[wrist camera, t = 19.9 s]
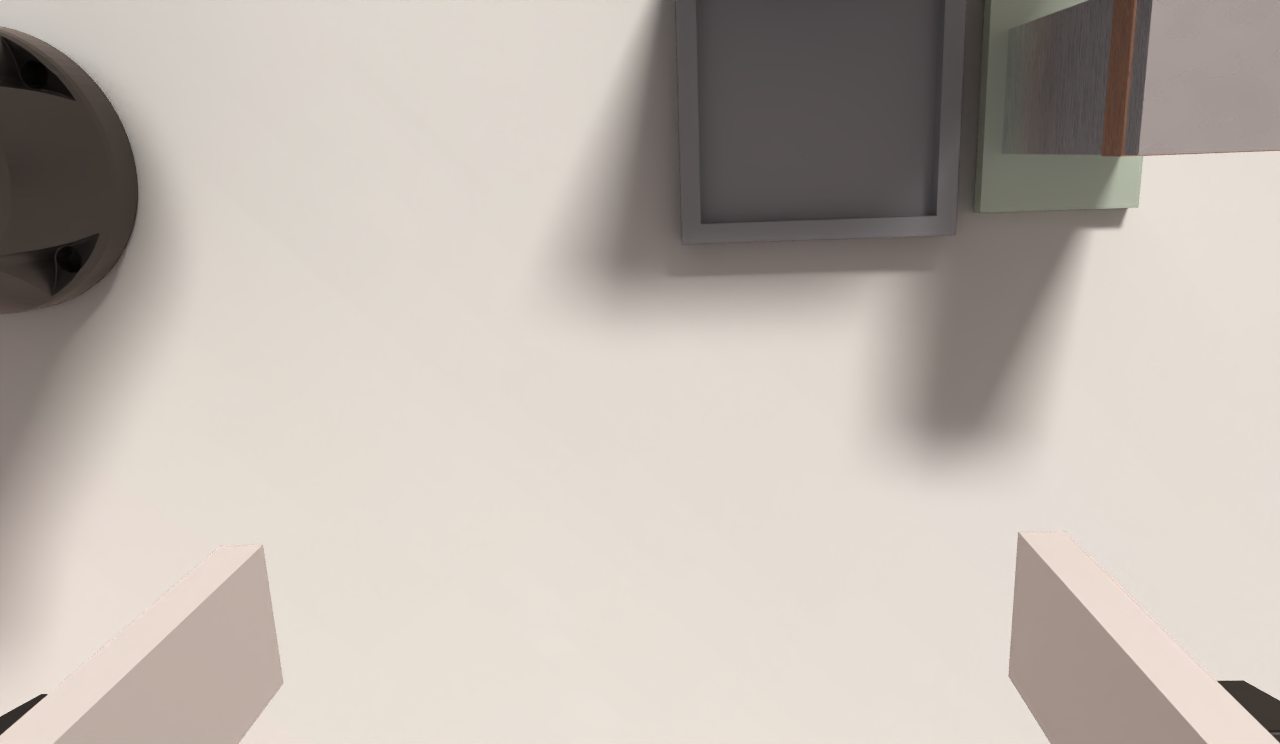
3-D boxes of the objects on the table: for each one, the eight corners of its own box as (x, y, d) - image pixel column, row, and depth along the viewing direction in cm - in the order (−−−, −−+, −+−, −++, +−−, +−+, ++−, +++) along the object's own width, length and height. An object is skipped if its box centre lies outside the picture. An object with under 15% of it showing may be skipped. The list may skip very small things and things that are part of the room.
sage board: (974, 211, 48) (980, 212, 47) (986, -33, 45) (993, -37, 44) (1128, 206, 47) (1138, 207, 46) (1151, -41, 44) (1161, -45, 43)
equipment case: (681, 240, 48) (683, 282, 33) (673, -65, 45) (671, -179, 29) (944, 231, 48) (1072, 270, 32) (957, -80, 44) (1108, -204, 29)
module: (1000, 155, 46) (1136, 156, 32) (1008, 28, 44) (1153, -26, 31) (1123, 150, 46) (1312, 150, 32) (1134, 22, 44) (1337, -35, 30)
